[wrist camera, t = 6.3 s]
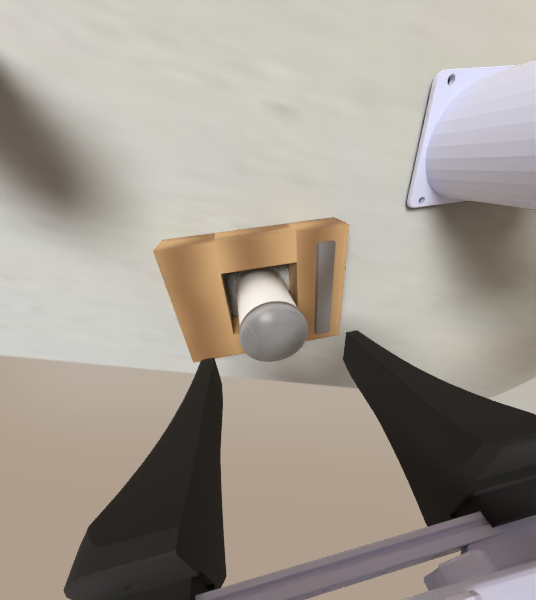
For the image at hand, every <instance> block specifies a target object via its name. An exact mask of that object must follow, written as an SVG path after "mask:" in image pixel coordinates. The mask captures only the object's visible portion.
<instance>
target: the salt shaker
mask: <svg viewBox="0 0 536 600" xmlns="http://www.w3.org/2000/svg"><path fill="white" fill-rule="evenodd" d="M235 290H236V298H237V306H238V314H239V323H240V329H239V336H240V344H241V346H242V348H243V350H244V351H245V353H246V354H247V355H249V356H250V357H252V358H254V359H256V360H259V361H265V362H272V361H279V360H282V359H285V358H287V357H289V356H291V355H293V354H294V353H296V352H297V351H298V350H299V349H300V348H301V347H302V346H303V344H304V343H305V341H306V338H307V335H308V324H307V321H306V319H305V318H304V316H303V314H302V312H301V311H300V310H299V309H298V308H297V306H296V304H295V303H294V301H293V299H292V297H291V295H290V293H289V292H288V290H287V288H286V286H285V284H284V282H283V280H282V279H281V277H280V275H279V273H278V272H277V270H276V269H275V268H274V267H272V266H269V267H262V268H256V269H249V270H243V271H240V272H239V274H238V275H237V278H236V281H235Z"/></svg>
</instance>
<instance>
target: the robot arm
mask: <svg viewBox="0 0 536 600" xmlns="http://www.w3.org/2000/svg"><path fill="white" fill-rule="evenodd" d="M449 77H450V82H449V84H448V83H447V82H448V78H449ZM420 198H421V201H420V202H419V199H420ZM469 200H470V201H477V202H484V203H491V204H498V205H505V206H512V207H520V208H527V209H534V210H536V60H533V61H530V62H527V63H524V64H521V65H510V66H494V67H477V68H461V69H446V70H443V71H441V72H439V73H438V74H437V75H436V76H435V78H434V80H433V83H432V88H431V92H430V97H429V102H428V106H427V111H426V116H425V120H424V125H423V129H422V134H421V139H420V143H419V148H418V153H417V157H416V162H415V167H414V171H413V176H412V181H411V185H410V190H409V195H408V199H407V205H408V206H409V207H411V208H417V207H424V206H432V205H439V204H447V203H454V202H462V201H469ZM343 360H344V362H345V365H346V367H347V369H348V371H349V373H350V375H351V377H352V379H353V380H354V382H355V383H356V385H357V387H358V388H359V390H360V391H361V393H362V394H363V396H364V398H365V399H366V401H367V402H368V404H369V405H370V407H371V409H372V410H373V412H374V413H375V415H376V417H377V418H378V420H379V422H380V424H381V426H382V428H383V430H384V432H385V434H386V436H387V437H388V439H389V442H390V444H391V446H392V447H393V450H394V452H395V454H396V456H397V458H398V460H399V462H400V464H401V467H402V468H403V471H404V473H405V475H406V478H407V480H408V482H409V484H410V487H411V489H412V491H413V494H414V496H415V498H416V501H417V503H418V505H419V508H420V510H421V513H422V515H423V517H424V520H425V523H426V524H427V526H428V527H426V528H422V529H419V530H415V531H412V532H408V533H405V534H402V535H398V536H395V537H392V538H388V539H385V540H381V541H378V542H375V543H371V544H368V545H364V546H361V547H358V548H355V549H351V550H348V551H344V552H341V553H338V554H334V555H331V556H327V557H324V558H321V559H317V560H314V561H311V562H307V563H304V564H300V565H297V566H293V567H290V568H287V569H283V570H280V571H277V572H274V573H270V574H267V575H263V576H260V577H256V578H253V579H250V580H246V581H243V582H240V583H236V584H233V585H229V586H226V587H223V588H221V586H222V584H223V583H224V581H225V578H226V564H225V548H224V535H223V534H224V532H223V516H222V515H223V514H222V492H221V465H220V448H221V430H222V410H223V395H222V383H221V379H220V376H219V372H218V369H217V365H216V362H215V358H208V359H203V360H202V361H201V362H200V365H199V367H198V370H197V372H196V375H195V377H194V379H193V381H192V384H191V386H190V388H189V390H188V392H187V394H186V396H185V398H184V400H183V402H182V403H181V405H180V407H179V409H178V411H177V412H176V414H175V416H174V418H173V419H172V421H171V423H170V424H169V426H168V428H167V429H166V431H165V432H164V434H163V435H162V437H161V438H160V440H159V441H158V443H157V444H156V446H155V447H154V448H153V450H152V451H151V453H150V454H149V455H148V457H147V458H146V459H145V461H144V462H143V463H142V465H141V466H140V467H139V468H138V470H137V471H136V472H135V473H134V475H133V476H132V477H131V479H130V480H129V481H128V482H127V483H126V485H125V486H124V487H123V488H122V490H121V491H120V492H119V493H118V494H117V495H116V496H115V498H114V499H113V500H112V501H111V502H110V503H109V504H108V506H107V507H106V508H105V509H104V510H103V511H102V512H101V513H100V515H99V516H98V517H97V518H96V519H95V520H94V521H93V522H92V524H90V526H89V527H88V529H87V532H86V534H85V536H84V538H83V540H82V542H81V545H80V547H79V550H78V552H77V555H76V558H75V560H74V563H73V566H72V569H71V571H70V574H69V577H68V579H67V582H66V585H65V587H64V593H65V595H66V597H67V598H69V599H71V600H305V599H308V598H311V597H314V596H317V595H321V594H324V593H327V592H330V591H333V590H337V589H340V588H342V587H346V586H349V585H352V584H355V583H359V582H362V581H365V580H369V579H372V578H375V577H378V576H381V575H385V574H388V573H391V572H394V571H397V570H401V569H404V568H407V567H410V566H413V565H416V564H420V563H423V562H426V561H429V560H432V559H435V558H439V557H442V556H445V555H448V554H451V553H455V552H458V551H461V550H462V551H461V555H460V556H458V557H455V558H453V559H450V560H448V561H446V562H443V563H441V564H439V566H438V568H437V569H436V570H434V571H433V572H432V573H430V574H429V575H427V576H425V577H424V582H425V584H426V586H427V588H428V590H429V591H428V592H425V593H421V594H418V595H415V596H412V597H409V598H405V599H402V600H536V415H535V414H533V413H529V412H526V411H523V410H520V409H517V408H514V407H511V406H507V405H504V404H501V403H498V402H495V401H492V400H490V399H487V398H484V397H481V396H479V395H476V394H474V393H471V392H468V391H466V390H463V389H461V388H459V387H456V386H454V385H452V384H449V383H447V382H445V381H443V380H440V379H438V378H436V377H434V376H432V375H430V374H428V373H426V372H424V371H422V370H420V369H418V368H416V367H415V366H413V365H411V364H409V363H408V362H406V361H404V360H402V359H401V358H399V357H397V356H396V355H394V354H392V353H391V352H389V351H388V350H386V349H384V348H383V347H381V346H380V345H378V344H377V343H375V342H374V341H372V340H371V339H369V338H368V337H366V336H365V335H363V334H362V333H360V332H358V331H352V332H346V339H345V348H344V356H343Z"/></svg>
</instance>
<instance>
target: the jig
mask: <svg viewBox="0 0 536 600" xmlns="http://www.w3.org/2000/svg"><path fill="white" fill-rule="evenodd" d="M348 233H349V224H348V223H345V222H343V221H341V220H339V219H336V218H334V217H333V218H326V219H318V220H310V221H303V222H295V223H288V224H280V225H273V226H265V227H258V228H250V229H243V230H235V231H227V232H220V233H212V234H205V235H197V236H190V237H182V238H175V239H167V240H162V241H161V242H160V243H159V245H158V246H157V247H156V248H155V250H154V251H153V252H154V254H155V257H156V260H157V263H158V266H159V268H160V271H161V274H162V277H163V279H164V282H165V285H166V288H167V291H168V293H169V296H170V299H171V302H172V304H173V307H174V310H175V313H176V316H177V318H178V321H179V324H180V327H181V329H182V332H183V335H184V338H185V341H186V343H187V346H188V349H189V352H190V354H191V357H192V360H193V363H194V362H200V361H202V360H203V359H208V358H220V357H225V356H231V355H236V354H241V353H245V351H244V350H243V348H242V346H241V344H240V336H239V329H240V323H239V316H238V317H232V314H231V309H230V304H229V300H228V295H227V290H226V285H225V280H224V275H223V273H229V272H236V271H243V270H249V269H256V268H262V267H269V266H275V265H282V264H288V263H289V285H290V295H291V297H292V299H293V301H294V303H295V304H296V306H297V308H298V309H299V310H300V311H301V312H302V314H303V316H304V318H305V319H306V321H307V324H308V335H307V338H306V341H308V340H314V339H319V338H324V337H329V336H334V335H339V325H340V315H341V305H342V294H343V284H344V274H345V264H346V254H347V243H348Z"/></svg>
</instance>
